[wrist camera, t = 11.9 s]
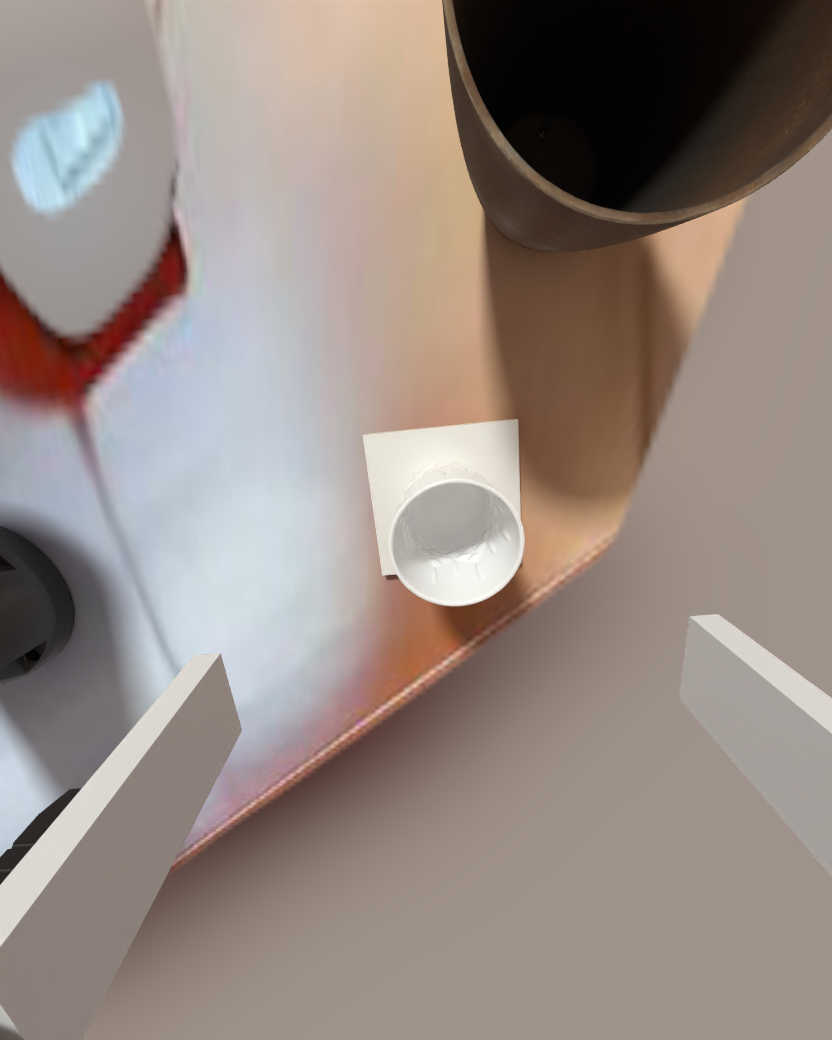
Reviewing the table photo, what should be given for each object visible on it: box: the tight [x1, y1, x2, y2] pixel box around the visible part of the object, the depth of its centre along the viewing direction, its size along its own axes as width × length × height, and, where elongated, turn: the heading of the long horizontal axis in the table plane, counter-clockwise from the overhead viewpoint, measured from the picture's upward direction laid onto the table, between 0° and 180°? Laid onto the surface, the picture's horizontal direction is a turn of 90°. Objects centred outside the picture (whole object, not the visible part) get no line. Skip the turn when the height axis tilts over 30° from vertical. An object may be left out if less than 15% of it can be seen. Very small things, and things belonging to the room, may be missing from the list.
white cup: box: [388, 461, 525, 606], centre depth 28 cm, size 8×8×10 cm
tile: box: [363, 419, 522, 576], centre depth 33 cm, size 12×12×1 cm
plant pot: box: [442, 0, 832, 252], centre depth 19 cm, size 15×15×16 cm
